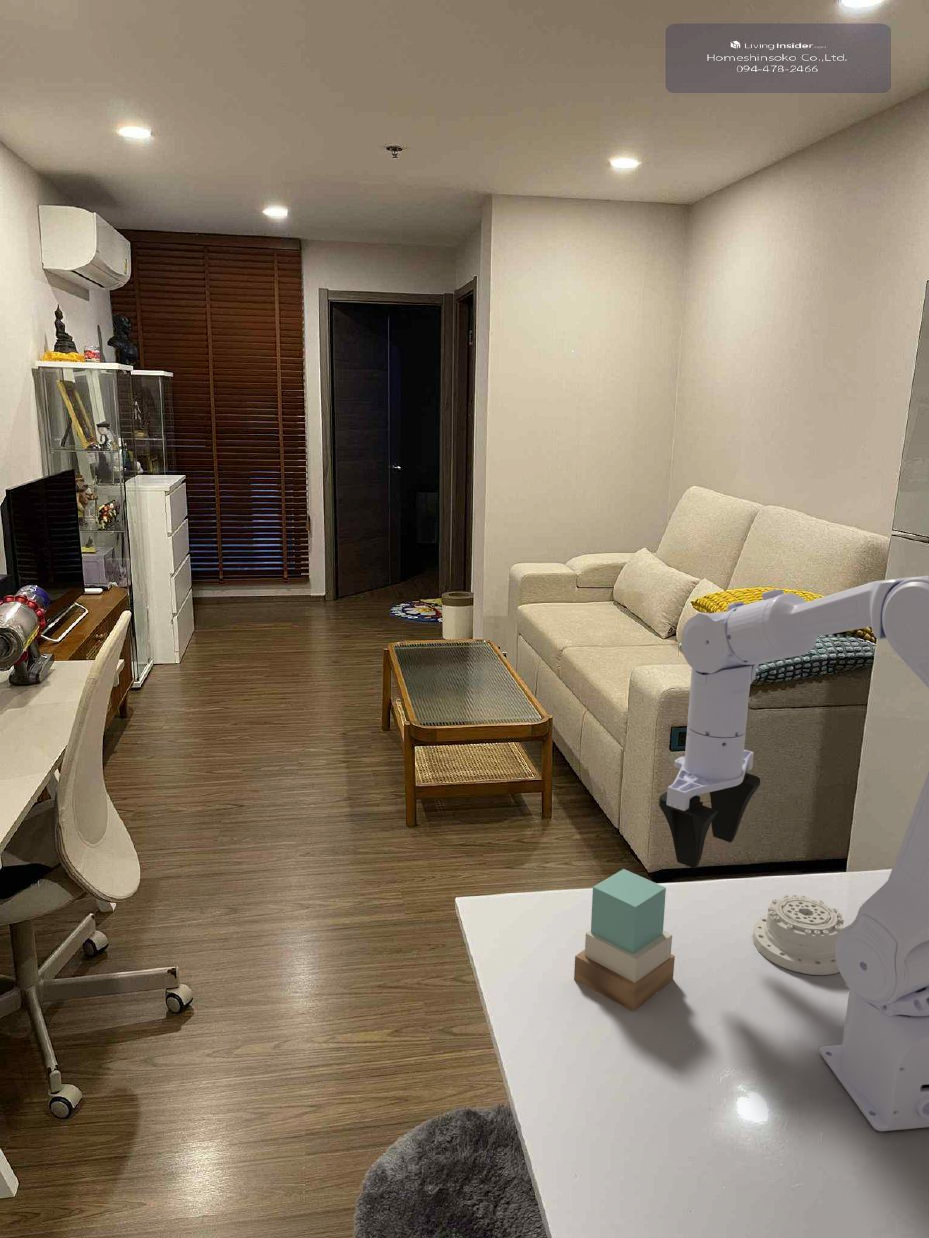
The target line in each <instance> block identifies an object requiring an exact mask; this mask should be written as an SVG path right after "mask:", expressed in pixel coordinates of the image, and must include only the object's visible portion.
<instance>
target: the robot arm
mask: <svg viewBox="0 0 929 1238" xmlns="http://www.w3.org/2000/svg"><path fill="white" fill-rule="evenodd" d="M761 598H762V599H761V600H757V601H754V602H750V603H746V604H745V603H744V601H736V602H731V603H729V604H727V610H725V611H717V612H712V613H711V612H710V613H709V612H697V613H696V614H695V615H693V616H692V617H690V618H689V619H688V620H687V621H686V622H685V623H684V625H683V628H682V632H681V634H680V635H681V636H680V645H681V650H682V654H683V656H684V658H685V661H686V662H687V664H688V665H689V666H690V667H691V674H690V687H689V699H688V700H689V701H688V711H687V712H688V713H687V727H686V738H685V751H684V752H685V753H684V756H680V757H678V758H676V759H675V760H674V763H673V766H674V767H675V768H676V769H679V771H678V773H677V775H676V777H675V780H674V781H673V783H672V784H670V785H669V786H667V791H665V792H664V793H663V794H660V796H659V801H658V806H659V807H660V810H661V811H662V813H663V816H664V817H665V820H666V821H667V824H668V826H669V829H670V832H671V833H670V834H671V838H672V842H673V848H674V852H675V853H674V854H675V857H676V862H677V863H679V864H681V865H684V866H686V867H690V868H692V869H696V868H698V866H699V865H700V862H701V859H702V856H703V851H704V846H705V842H706V841H705V840H706V837H707V834H708V831H709V828H710V826H711V833H712V837H714V838H716V839H719V840H721V841H725V842H728V843H733V842H734V840H735V837H736V835H737V833H738V829H739V827H740V824H741V821H742V818H743V815H744V814H745V811H746V809H747V806H748V804H749V802H750V800H751V799H752V797H753V796H754V794H755V792H756V791H757V790H758V789H759V787H760V785H761V778H760V777H759V776H757V775H754V774H752V773H747V772H749V771H751V770H752V769H753V766H754V756H755V754H754V751H751V750H747V749H745V744H746V734H747V731H746V730H747V720H748V711H749V699H750V692H751V691H750V690H751V684H752V683H753V681H755V680H756V676H757V669H758V666H759V665H760V664H762V663H769V662H774V661H779V660H783V659H788V658H794V657H799V656H804V655H805V654H807V653H809V652H810V651H811V650H812V649H813V647H814V646H815V645H816V642H817V640H818V637H821V636H828V635H832V634H837V633H843V632H849V631H855V630H860V629H861V630H862V629H867V628H871V630H872V633H873V636H874V638H876V639H877V640H887V642H888V643H889V645H890V647H891V648H892V649H893V650H894V651H895V653H896V654H897V656H898V657H899V658H900V659H902V661H903V662H904V663H905V664H906V665H907V666H908V667H909V669H910V670H911V671H912V672H913V673H914V674H915V675H916V676H917V677H918V678H919V680H920V681H922V683H923V684H924V685H925V686H926V688H928V689H929V575H922V576H921V575H919V576H907V577H897V578H890V579H882V580H875V581H871V582H868V583H865V584H862V585H858V586H855V587H852V588H848V589H845V590H842V591H839V592H836V593H833V594H830V595H826V596H823V597H820V598H815V599H813V600H810V601H807V600H806V599H805V598H804V597H802V596H800V595H798V594H796V593H793V592H792V593H790V592H787V593H784V590H783V589H772V590H768V591H764V592H762V594H761ZM707 793H708V794H709V796H710V805H711V806H710V807H708V806H706V805H703V804H704V802H703V801H701V796H702V795H704V794H707ZM835 958H836V962H837V966H838V968H839V971H840V972H839V973H840V975H841V977H842V979H843V981H844V983H845V986H846V988H848V990H849V991H848V996H847V1004H846V1005H847V1006H846V1011H845V1013H846V1014H845V1020H844V1028H843V1036H842V1044H837V1045H835V1044H834V1045H824V1046H820V1047H819V1054H820V1055H821V1057H822V1058H823V1059H824V1062H826V1064H827V1065H828V1066H829V1068H830V1070H831V1071H832V1073H833V1074H834V1075H835V1076H836V1078H837V1079H838V1081H839V1082H840V1084H842V1086H843V1088H844V1089H845V1090H846V1092H847V1093H848V1095H849V1096H850V1098H851V1099H852V1100H853V1101H854V1102H855V1104H856V1106H857V1107H858V1108H859V1110H860V1111H861V1112H862V1114H863V1115H864V1117H865V1118H866V1120H867V1121H868V1122H869V1124H870V1125H871V1126H872V1128H873V1129H874V1130H875V1131H878V1132H888V1131H898V1130H899V1131H901V1130H910V1129H911V1130H912V1129H920V1128H921V1129H922V1128H929V771H928V772H927V774H926V777H925V780H924V783H923V785H922V789H921V790H920V794H919V797H918V799H917V801H916V804H915V806H914V810H913V813H912V815H911V818H910V820H909V823H908V826H907V829H906V831H905V833H904V836H903V839H902V842H901V845H900V847H899V850H898V853H897V855H896V858H895V860H894V864H893V866H892V868H891V871H890V874H889V876H888V879H887V880H886V882H885V883H884V884H883V885H882V886H880V888H878V889H877V890H876V891H875V892H874V893H873V894H872V895H871V896H870V897H869V898H868V899H867V900H866V901H864V903H862V904H861V906H860V907H859V909H858V911H857V915H856V916H855V919H854V920H853V921H852V922H851V923H850V924H848V925H847V926H845V927H843V929H842V930H841V931H840V933H839V934H838V936H837V939H836V942H835Z"/></svg>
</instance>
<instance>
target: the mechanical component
mask: <svg viewBox="0 0 929 1238" xmlns="http://www.w3.org/2000/svg"><path fill="white" fill-rule="evenodd" d="M838 911H839V910H838V909H837V908H835V907H830V906H828V905H826V904H825V901H823V900H820V899H819V900H815V899H811V898H809V897H807V896H806V895H801V896H798V895H797V894H792V896H790V895H786V894H785V895H784V896H783V898H782V897H781V898H778V899H777V898H774V899H772V901H771V903H770V904H769V906H768V908H767V914H766V915H763V916H760V918H759V919H757V921H756V922H755V924H754V925H753V932H752V941H753V944H754V946H755V948H756V949H757V951H758V952H759V953H760V954H761V956H763V957H764V958H765V959H767V960H769V961H770V962H772V963H774V965H777V966H780V967H781V968H784V969H786V970H790V971H793V972H796V973H801V974H806V975H812V976H814V975H815V976H827V975H828V976H829V975H834V974H838V973H840V971H839V968H838V966H837V962H836V958H835V942H836V939H837V936H838V934H839V933H840V931H841V930H842V929H843V928H844V923H845V922H844V920H845V919H844V918H842V916H843V915H842V913H840V912H838Z"/></svg>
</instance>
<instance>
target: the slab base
mask: <svg viewBox="0 0 929 1238" xmlns="http://www.w3.org/2000/svg"><path fill="white" fill-rule="evenodd" d="M675 958H676V956H675V955H673V954H672V953H671V957H670V958H669V959H668V960H666V961H665V962H664V963H662V964H661V965H659V966H658V967H657V968H655V969H654V970H652V971H651V972H650V973H648V974H647V975H646V976H644V977H643V978H641V979H640V980H639V981H637V982H636V983H634V982H632V981H630V980H628V979H626V978H625V977H623V976H621V975H619V974H617V973H615V972H613V971H612V970H610V969H608V968H606V967H604V966H602V965H601V964H599V963H597V962H595V961H593V960H591V959H590V958H588V957H586V956H585V949H583V950H581V951H580V952H579V953H578V954H576V955H575V956H574V972H573V973H574V974H573V980H575V981H576V982H578V983H580V984H582V985H583V986H585V987H587V988H589V989H590V990H593V991H594V992H597V993H598V994H600V995H601V996H604V997H606V998H608V1000H611V1001H613V1002H614V1003H616V1004H618V1005H620V1006H622V1007H624V1008H626V1009H628V1010H629V1011H631V1012H633V1013H634V1012H635V1011H637V1009H638V1008H640V1007H641V1006H642V1005H644V1004H645V1003H646V1002H647V1001H649V1000H650V999H651V998H652V997H654V995H656V994H657V993H658V992H660V991H661V990H662V989H664V987H666V986H667V985H668V984H670V982H672V981H673V980H674V970H675ZM660 989H661V990H660ZM656 992H657V993H656ZM639 1006H640V1007H639Z"/></svg>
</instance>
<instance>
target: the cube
mask: <svg viewBox="0 0 929 1238" xmlns="http://www.w3.org/2000/svg"><path fill="white" fill-rule="evenodd" d="M666 890H667V888H666V887H665V886H663V885H661V884H659V883H656V882H654V881H652V880H650V879H647V878H645V877H643V876H641V875H639V874H636V873H633V872H632V871H630V870H627V869H626V868H622V869H621V870H619V871H617V872H616V873H614V874H612V875H611V876H609V877H607V878H606V879H604V880H602V881H600V882H598V883H597V884H596V885H593V886H592V899H591V900H592V901H591V920H590V922H591V923H590V930H591V933H593V934H595V935H597V936H598V937H600V938H602V939H604V940H606V941H608V942H610V943H612V944H614V945H616V946H618V947H620V948H622V949H623V950H625V951H627V952H629V953H631V954H634V953H635V952H637V951H638V950H640V949H641V948H643V947H644V946H646V945H647V944H648V943H650V942H651V941H653V940H654V939H656V938H657V937H659V936H660V935H661V934H663V931H664V922H665V908H666V907H665V906H666V892H667V891H666Z"/></svg>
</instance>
